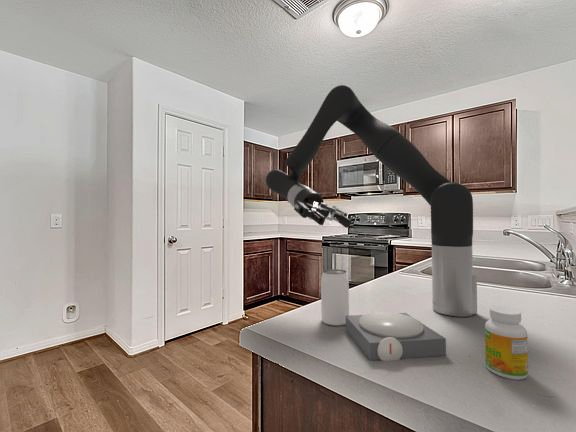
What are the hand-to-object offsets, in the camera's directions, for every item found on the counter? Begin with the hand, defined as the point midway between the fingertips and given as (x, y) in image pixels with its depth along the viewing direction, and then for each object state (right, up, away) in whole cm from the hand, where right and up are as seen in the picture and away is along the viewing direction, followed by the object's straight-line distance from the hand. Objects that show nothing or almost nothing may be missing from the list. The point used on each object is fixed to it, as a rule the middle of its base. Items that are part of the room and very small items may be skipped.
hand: (336, 223), depth 72 cm
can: (-1, -24, -3) cm, 24 cm away
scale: (+8, -23, -14) cm, 29 cm away
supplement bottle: (+23, -23, -26) cm, 41 cm away
